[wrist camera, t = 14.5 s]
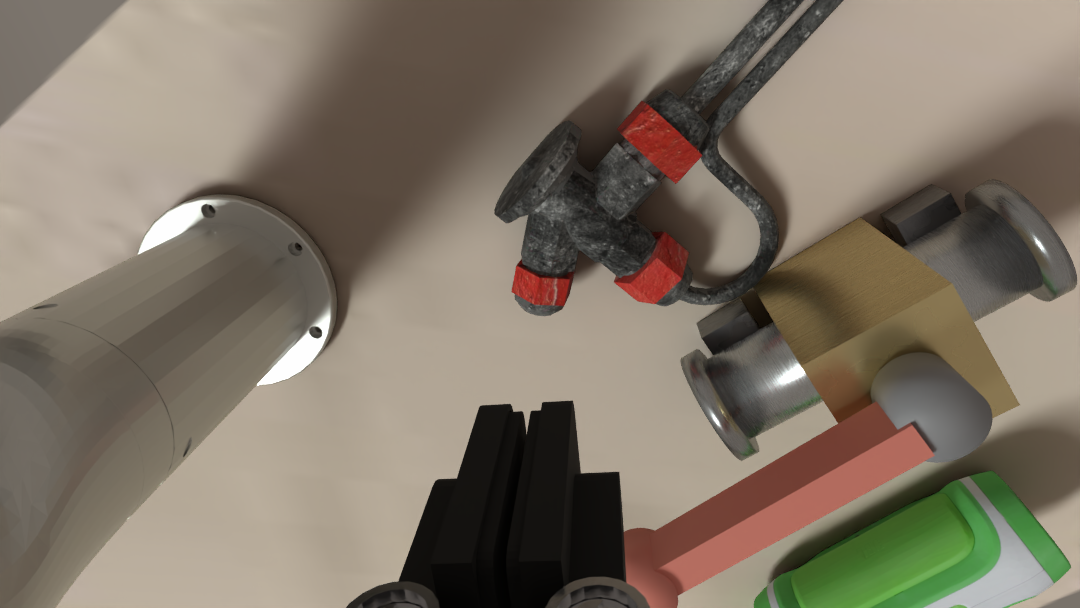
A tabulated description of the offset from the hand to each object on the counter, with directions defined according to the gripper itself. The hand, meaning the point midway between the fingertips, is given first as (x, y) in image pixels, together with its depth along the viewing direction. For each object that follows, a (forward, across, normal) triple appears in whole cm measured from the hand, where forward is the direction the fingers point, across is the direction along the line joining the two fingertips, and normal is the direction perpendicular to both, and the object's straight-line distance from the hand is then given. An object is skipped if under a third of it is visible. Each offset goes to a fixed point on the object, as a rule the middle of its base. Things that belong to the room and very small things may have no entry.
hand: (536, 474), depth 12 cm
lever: (+18, -8, +13) cm, 24 cm away
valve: (+30, -7, 0) cm, 31 cm away
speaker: (+30, -18, +28) cm, 44 cm away
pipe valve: (+29, -14, +9) cm, 34 cm away
